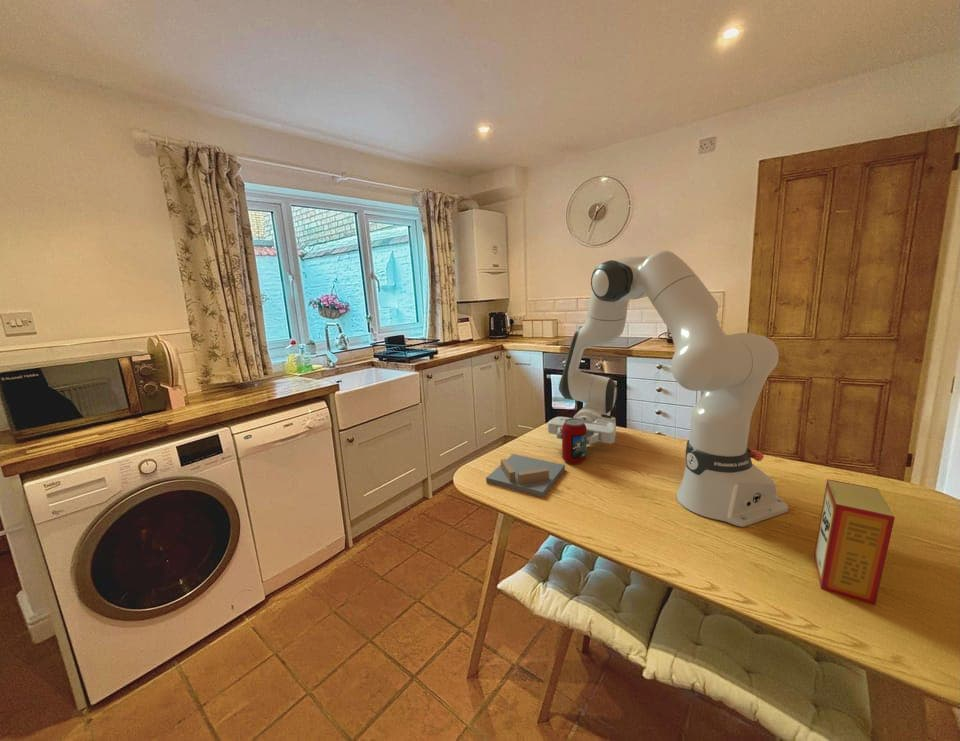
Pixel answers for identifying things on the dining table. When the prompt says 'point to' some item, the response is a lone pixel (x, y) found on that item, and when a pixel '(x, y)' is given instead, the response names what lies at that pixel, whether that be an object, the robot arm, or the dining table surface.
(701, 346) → the robot arm
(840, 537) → the baking soda box
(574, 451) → the beverage can
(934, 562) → the dining table surface
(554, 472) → the v stop plate
